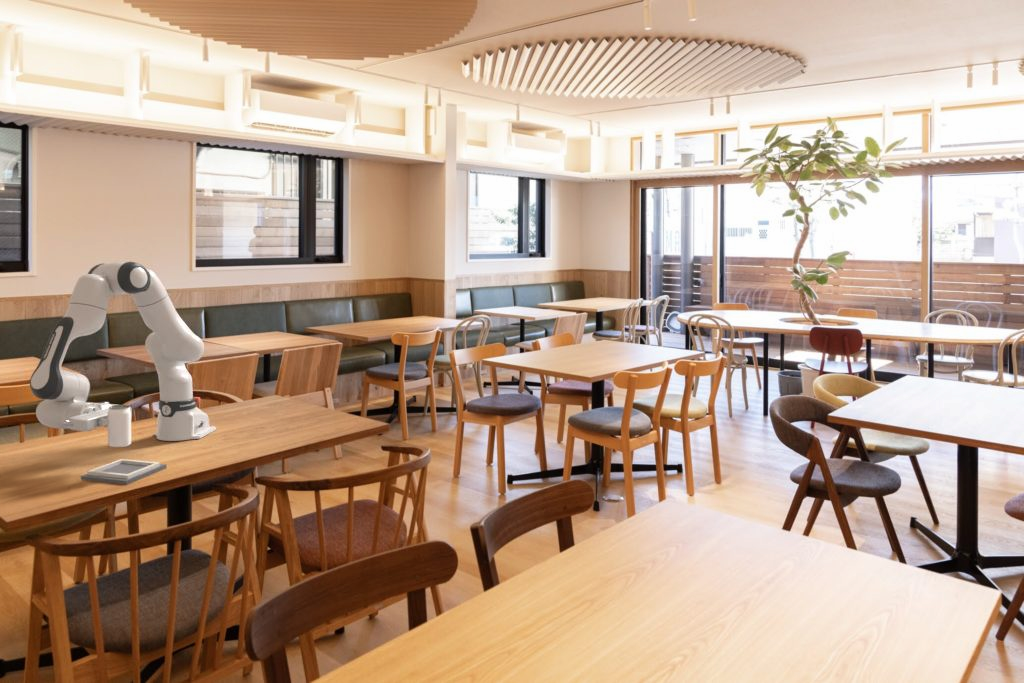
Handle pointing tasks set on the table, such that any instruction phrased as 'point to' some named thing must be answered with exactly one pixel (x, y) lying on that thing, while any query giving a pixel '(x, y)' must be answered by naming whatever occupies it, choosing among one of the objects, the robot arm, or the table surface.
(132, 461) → the grey rimmed tray
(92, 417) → the robot arm
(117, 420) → the can
